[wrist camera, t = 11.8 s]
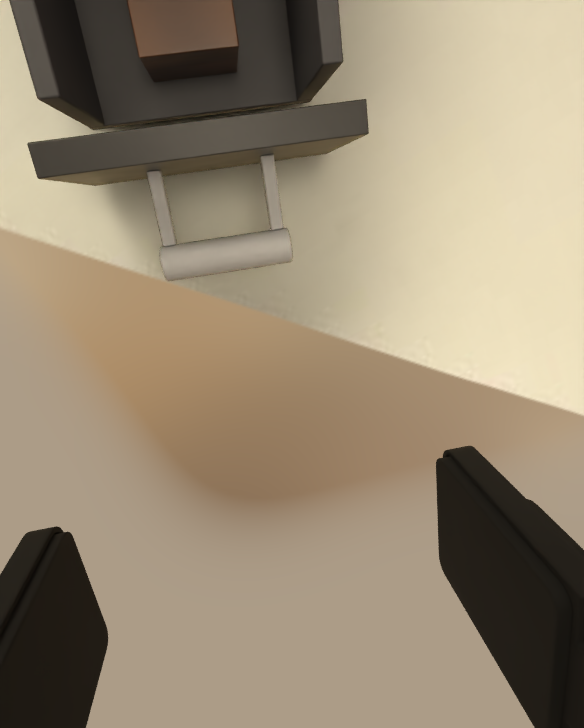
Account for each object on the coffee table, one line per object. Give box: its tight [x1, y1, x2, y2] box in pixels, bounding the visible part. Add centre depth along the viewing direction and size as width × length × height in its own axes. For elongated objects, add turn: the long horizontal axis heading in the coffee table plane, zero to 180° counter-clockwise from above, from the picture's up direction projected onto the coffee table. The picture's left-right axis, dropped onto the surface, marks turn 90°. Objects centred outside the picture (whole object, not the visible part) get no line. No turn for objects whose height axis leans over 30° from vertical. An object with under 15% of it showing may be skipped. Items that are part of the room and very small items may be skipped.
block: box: [127, 0, 239, 82], centre depth 20 cm, size 4×4×4 cm
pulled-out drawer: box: [9, 0, 369, 281], centre depth 19 cm, size 19×12×8 cm, turn 8°
